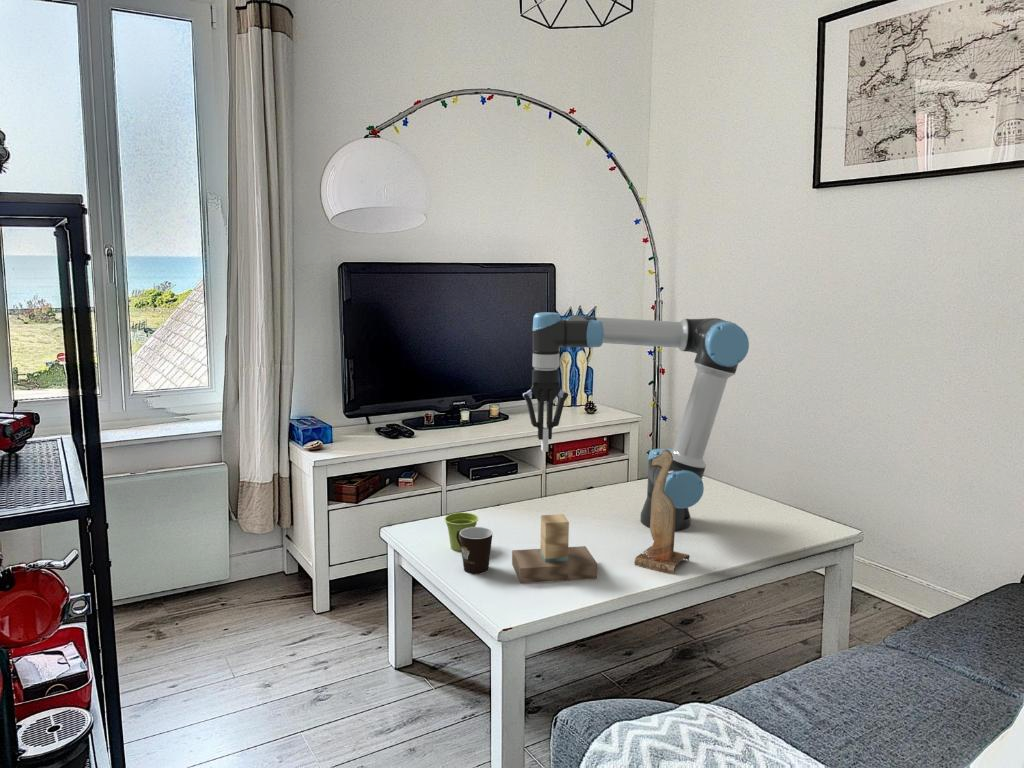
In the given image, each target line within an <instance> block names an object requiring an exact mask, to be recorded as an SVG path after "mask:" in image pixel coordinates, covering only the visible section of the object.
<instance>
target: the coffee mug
mask: <svg viewBox="0 0 1024 768" xmlns="http://www.w3.org/2000/svg"><path fill="white" fill-rule="evenodd" d="M459 534H460V540H459ZM493 535H494V533H493V530H491V529H489V528H487V527H483V526H475V527H470V528H465V529H463V530H461V531H458V532H457V535H456V537H457V541H458V543H459V545H460V547H461V550H462V551H461V557H462V566H463V571H464V572H466V574H467V573H468V574H471V575H482V574H484V573H487V572H488V571H489V568H490V567H489V566H490V558H491V557H490V556H491V551H492V550H491V549H492V539H493Z"/></svg>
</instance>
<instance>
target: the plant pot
mask: <svg viewBox="0 0 1024 768" xmlns="http://www.w3.org/2000/svg"><path fill="white" fill-rule="evenodd" d="M478 521H479V516H478V515H477V514H475V513H472V512H453V513H450V514H448V515H446V516H445V517H444V522H445V524H446V526H447V530H448V531H447V533H448V536H449V538H448V539H449V544H450V549H452V550H453V551H457V552H462V550H461V547H460V545H459V543H458V541H457V537H456V535H457V532H458V531H461V530H463V529H465V528H470V527H477V522H478ZM459 540H460V534H459Z"/></svg>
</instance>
